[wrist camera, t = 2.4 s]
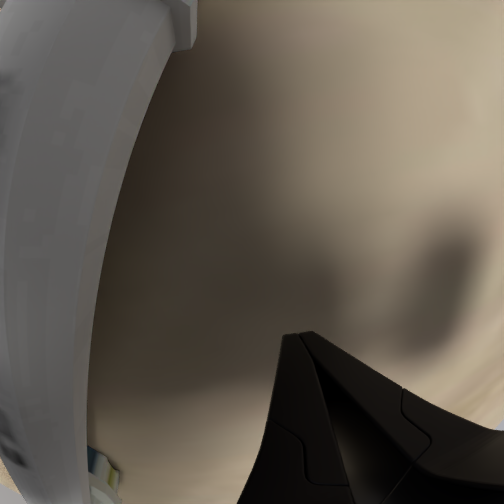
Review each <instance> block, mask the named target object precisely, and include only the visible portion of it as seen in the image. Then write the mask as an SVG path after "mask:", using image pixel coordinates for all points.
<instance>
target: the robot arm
mask: <svg viewBox="0 0 504 504" xmlns="http://www.w3.org/2000/svg"><path fill="white" fill-rule="evenodd" d="M237 504H504V431H500V430H493V429H489V428H486V427H483V426H480V425H478V424H476V423H473V422H471V421H469V420H466V419H464V418H462V417H459V416H457V415H455V414H452V413H450V412H448V411H446V410H444V409H442V408H440V407H437V406H435V405H433V404H431V403H429V402H428V401H426V400H424V399H422V398H420V397H419V396H417V395H415V394H413V393H412V392H410V391H408V390H407V389H405V388H403V389H402V386H400V385H398V384H397V383H395V382H393V381H392V380H390V379H388V378H387V377H385V376H383V375H382V374H380V373H379V372H377V371H375V370H374V369H372V368H371V367H369V366H367V365H366V364H364V363H363V362H361V361H359V360H358V359H356V358H355V357H353V356H351V355H350V354H348V353H347V352H345V351H343V350H342V349H340V348H339V347H337V346H336V345H334V344H333V343H331V342H329V341H328V340H326V339H325V338H323V337H322V336H320V335H319V334H317V333H315V332H314V331H306V332H300V333H299V334H297V333H292V334H285V335H283V337H282V342H281V348H280V354H279V359H278V365H277V370H276V376H275V381H274V386H273V391H272V397H271V402H270V407H269V412H268V417H267V421H266V426H265V430H264V435H263V439H262V442H261V446H260V450H259V452H258V455H257V458H256V460H255V463H254V466H253V468H252V471H251V473H250V475H249V477H248V480H247V482H246V484H245V486H244V489H243V491H242V493H241V495H240V497H239V500H238V502H237Z"/></svg>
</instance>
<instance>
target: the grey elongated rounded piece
mask: <svg viewBox="0 0 504 504" xmlns="http://www.w3.org/2000/svg"><path fill="white" fill-rule="evenodd" d="M197 4H198V0H0V8H1V9H2V10H1V11H0V457H1V459H2V461H3V463H4V465H5V467H6V469H7V471H8V472H9V474H10V476H11V478H12V479H13V481H14V483H15V485H16V486H17V488H18V490H19V491H20V493H21V494H22V496H23V498H24V499H25V501H26V502H27V504H122V499H121V498H120V497H119V496H118V495H117V492H118V485H119V471H118V470H114V469H113V468H112V466H111V465H110V464H109V462H108V461H107V457H106V456H104V455H102V454H100V453H99V452H97V451H95V450H94V449H92V448H91V447H89V446H87V386H88V370H89V357H90V346H91V337H92V328H93V320H94V312H95V305H96V299H97V292H98V286H99V281H100V275H101V270H102V264H103V259H104V254H105V250H106V245H107V240H108V236H109V231H110V227H111V223H112V219H113V215H114V211H115V207H116V203H117V200H118V196H119V192H120V189H121V185H122V182H123V178H124V175H125V172H126V168H127V165H128V162H129V159H130V156H131V153H132V150H133V147H134V144H135V141H136V138H137V135H138V132H139V129H140V127H141V124H142V121H143V119H144V116H145V113H146V111H147V108H148V105H149V103H150V100H151V98H152V95H153V93H154V91H155V88H156V86H157V83H158V81H159V79H160V76H161V74H162V72H163V70H164V67H165V65H166V63H167V61H168V59H169V57H170V54H171V53H173V52H178V51H183V50H189V49H191V48H192V46H193V44H194V42H195V39H196V37H197Z"/></svg>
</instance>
